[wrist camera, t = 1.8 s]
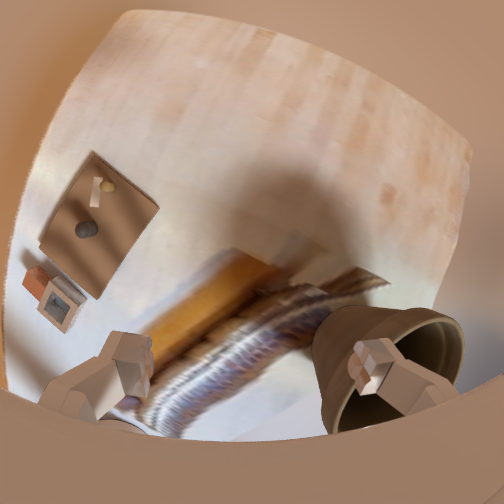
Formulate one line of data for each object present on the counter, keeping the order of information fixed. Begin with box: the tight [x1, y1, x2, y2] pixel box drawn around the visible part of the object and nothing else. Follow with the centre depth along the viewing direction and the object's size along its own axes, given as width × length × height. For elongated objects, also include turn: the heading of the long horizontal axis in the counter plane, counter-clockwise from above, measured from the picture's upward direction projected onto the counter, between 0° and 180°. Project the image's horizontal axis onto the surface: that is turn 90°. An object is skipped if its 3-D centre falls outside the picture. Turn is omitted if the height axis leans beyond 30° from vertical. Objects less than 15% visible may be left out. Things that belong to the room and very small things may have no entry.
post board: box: [39, 156, 160, 300], centre depth 35 cm, size 18×14×6 cm
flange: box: [22, 266, 87, 334], centre depth 36 cm, size 11×6×4 cm, turn 51°
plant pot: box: [312, 305, 465, 434], centre depth 39 cm, size 25×25×22 cm
